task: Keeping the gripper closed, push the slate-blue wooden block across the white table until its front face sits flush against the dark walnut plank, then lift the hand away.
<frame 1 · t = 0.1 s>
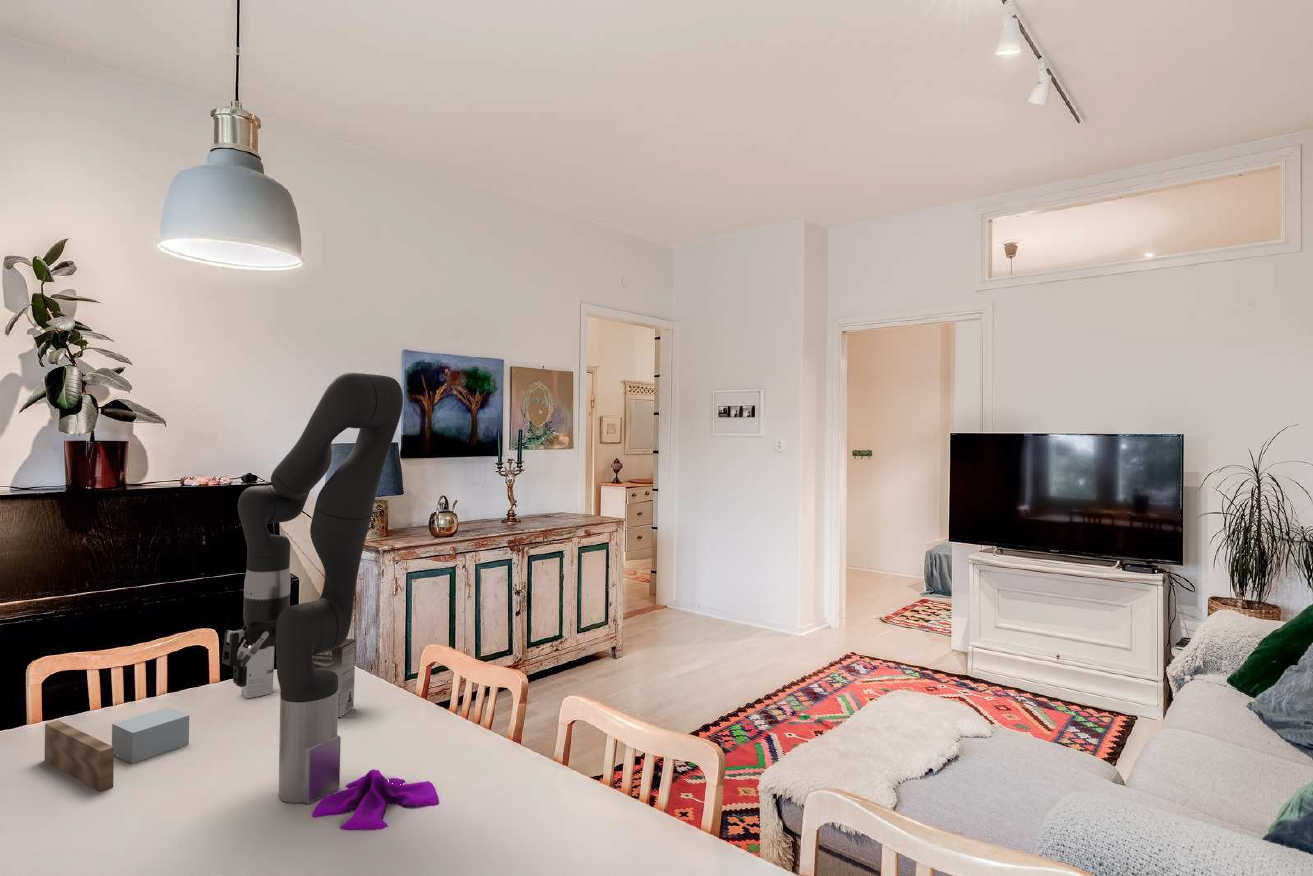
hand: (264, 679, 131), 17 cm above the table, tool pointing down, fingers open, 8 cm apart
skincare box: (257, 694, 169), on the table
plank: (77, 773, 129), on the table
block: (150, 749, 139), on the table
cloth: (372, 803, 122), on the table
coffee box: (328, 713, 159), on the table
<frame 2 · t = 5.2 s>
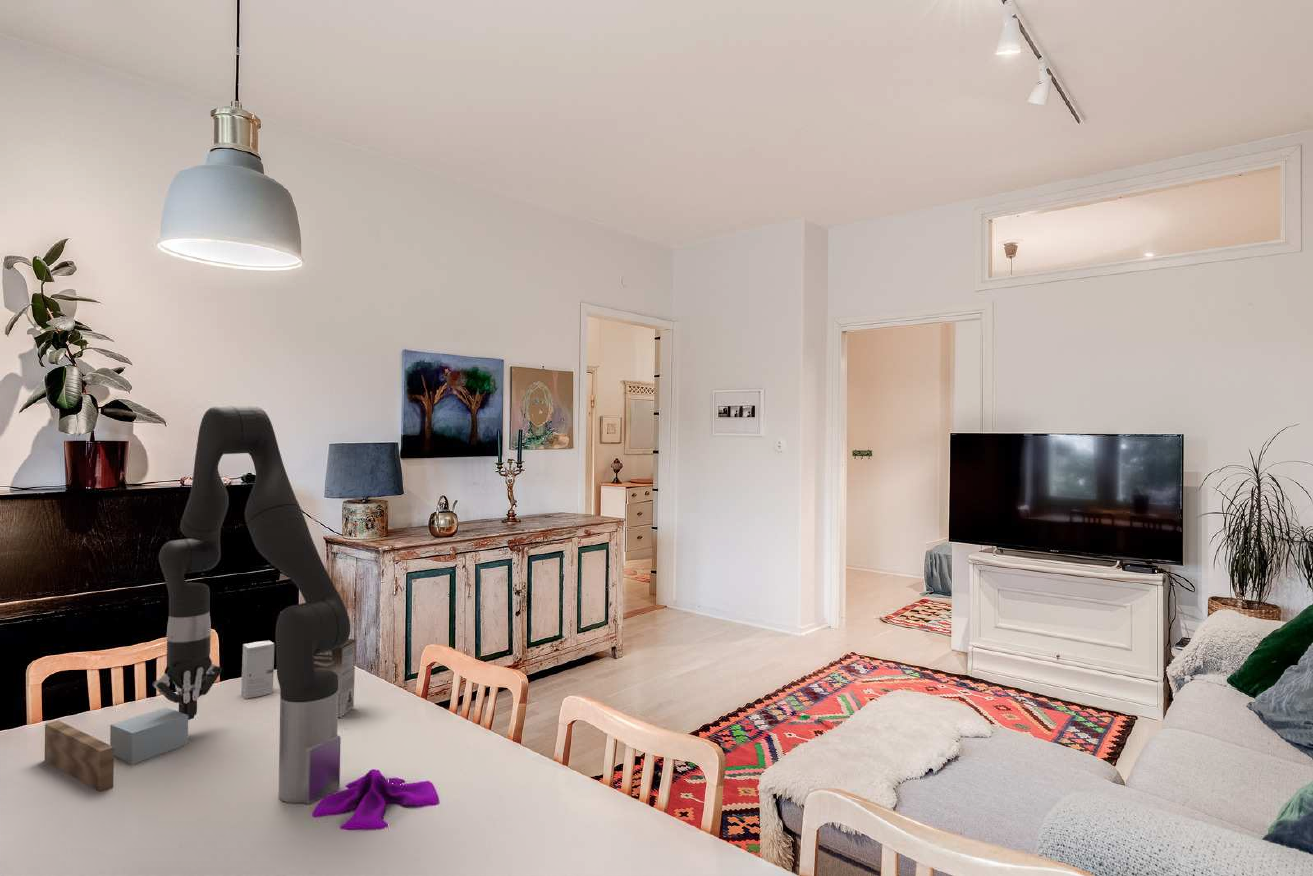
hand: (187, 718, 145), 4 cm above the table, tool pointing down, fingers closed
block: (149, 750, 139), on the table, touching gripper
everything else where it was.
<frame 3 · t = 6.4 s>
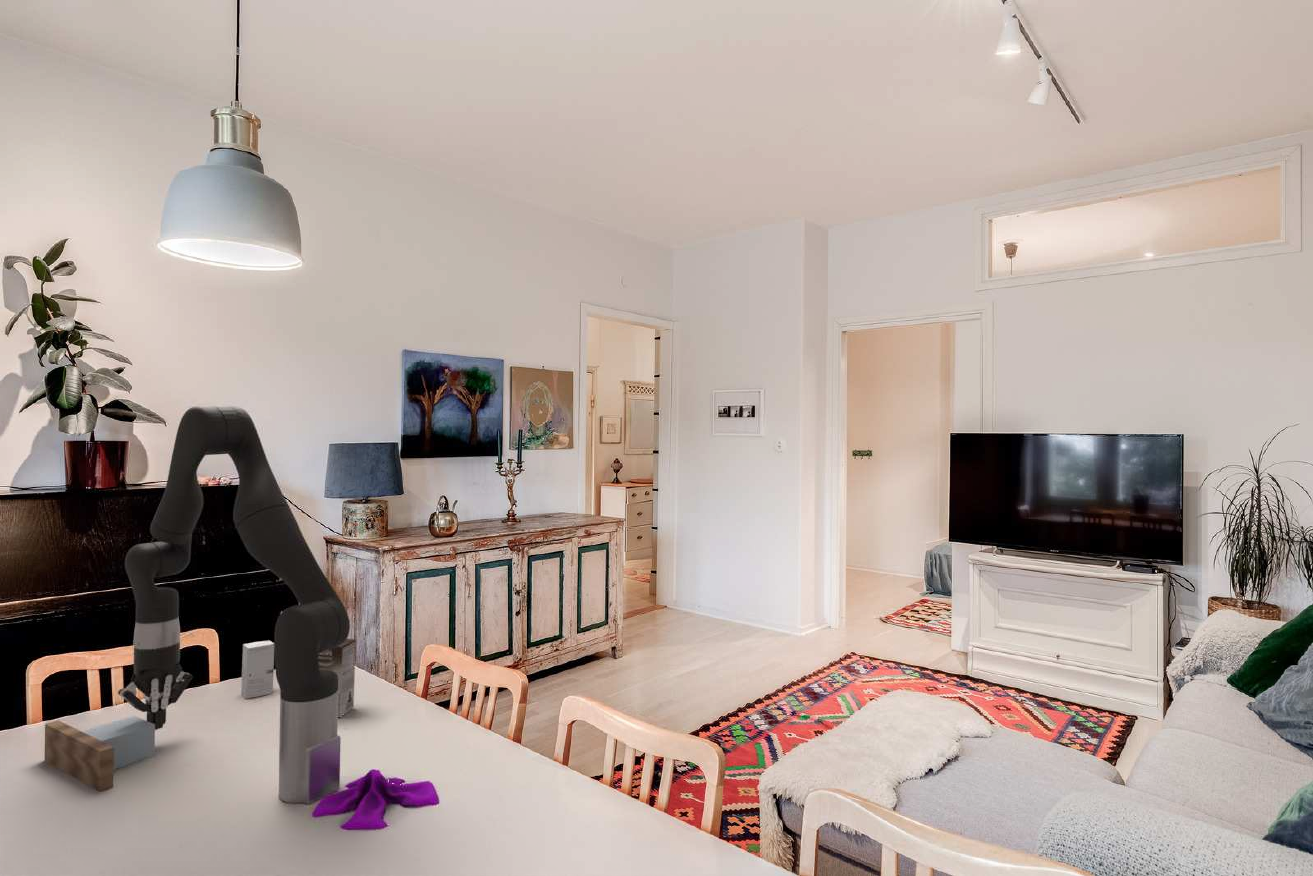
hand: (156, 728, 140), 4 cm above the table, tool pointing down, fingers closed
block: (114, 760, 134), on the table, touching gripper, plank
everything else where it was.
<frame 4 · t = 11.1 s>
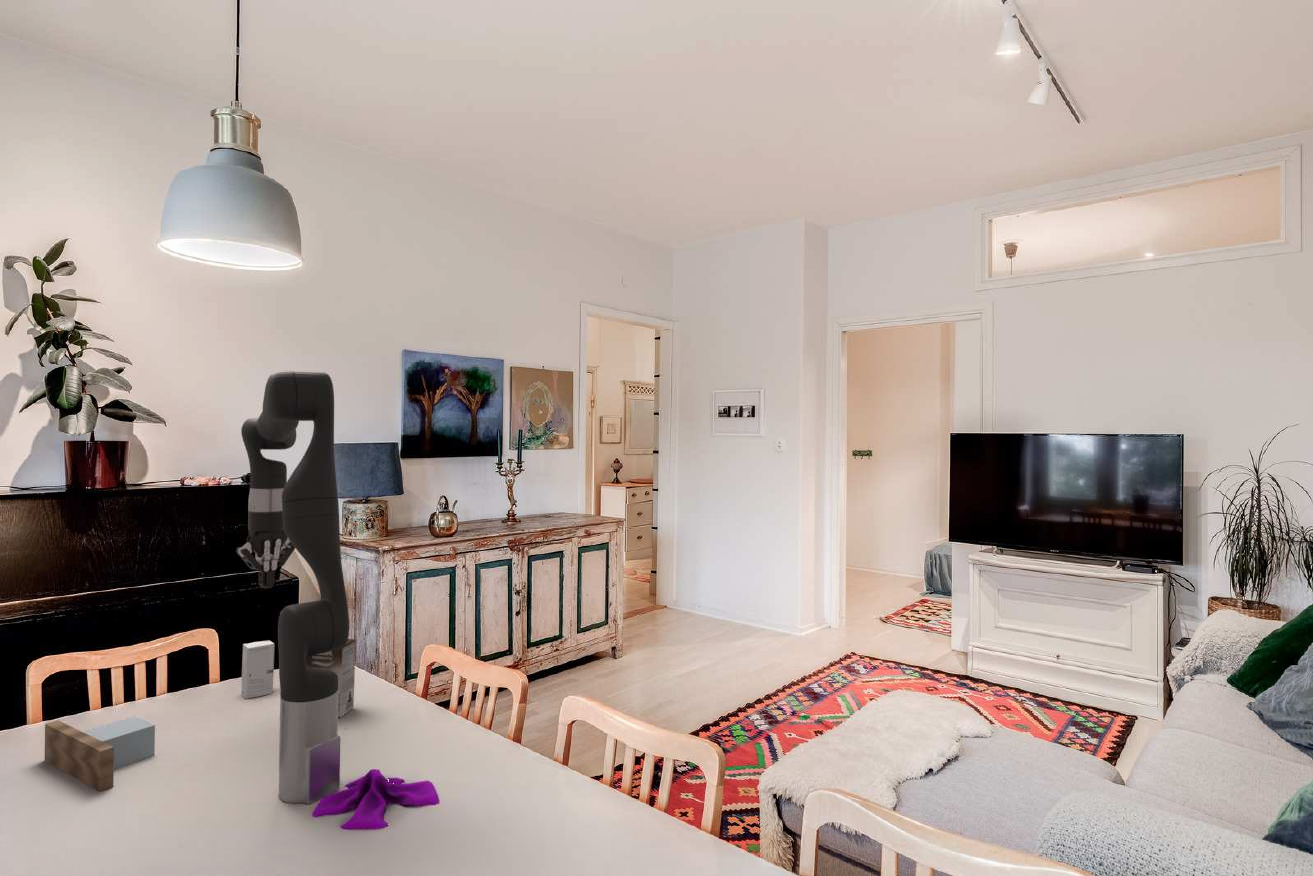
hand: (266, 587, 154), 29 cm above the table, tool pointing down, fingers closed
block: (114, 760, 135), on the table
everything else where it was.
at the end: block inside the target area on the table beside the plank (0.6 cm from its centre), on the table; block tilted 0° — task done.
